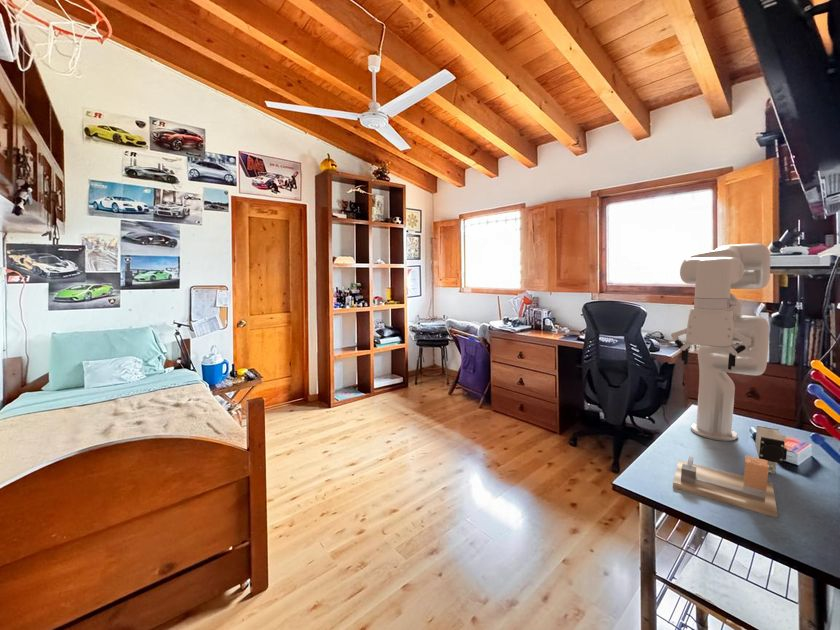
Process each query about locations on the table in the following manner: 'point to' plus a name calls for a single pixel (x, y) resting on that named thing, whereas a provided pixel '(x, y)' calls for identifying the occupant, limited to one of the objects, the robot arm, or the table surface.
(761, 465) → the block
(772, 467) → the pneumatic valve
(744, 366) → the robot arm
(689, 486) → the plate
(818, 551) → the table surface
